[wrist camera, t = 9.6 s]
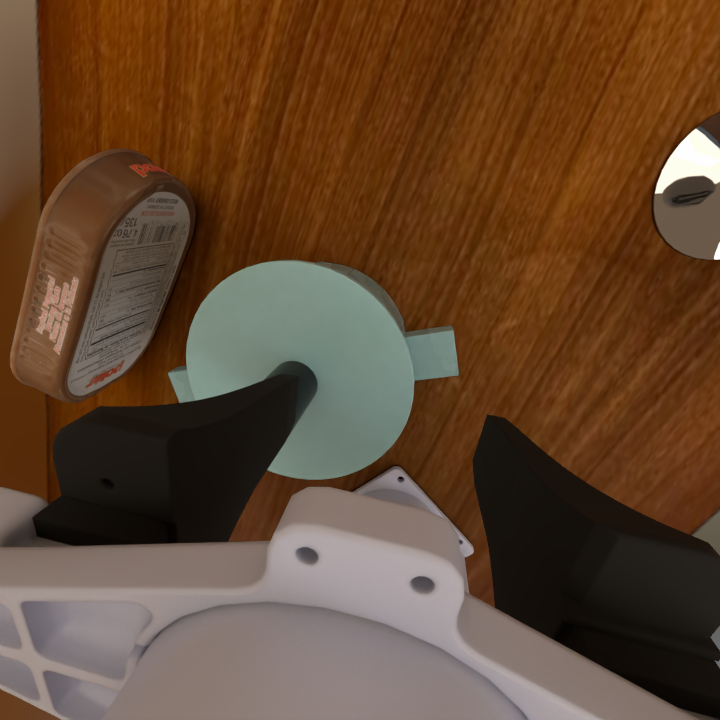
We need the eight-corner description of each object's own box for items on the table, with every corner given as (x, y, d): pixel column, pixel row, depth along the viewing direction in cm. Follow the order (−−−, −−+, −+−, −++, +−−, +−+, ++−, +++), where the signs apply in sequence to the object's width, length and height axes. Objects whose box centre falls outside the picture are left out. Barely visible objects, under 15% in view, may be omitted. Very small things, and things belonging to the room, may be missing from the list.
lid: (429, 460, 20) (432, 533, 15) (236, 474, 22) (186, 540, 18) (393, 234, 16) (381, 237, 11) (166, 283, 19) (79, 301, 14)
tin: (178, 160, 21) (40, 121, 14) (223, 190, 22) (112, 168, 14) (112, 353, 27) (-13, 404, 19) (148, 375, 27) (39, 435, 19)
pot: (458, 403, 24) (469, 455, 19) (242, 426, 27) (198, 475, 22) (437, 236, 21) (443, 240, 15) (195, 286, 24) (128, 304, 19)
